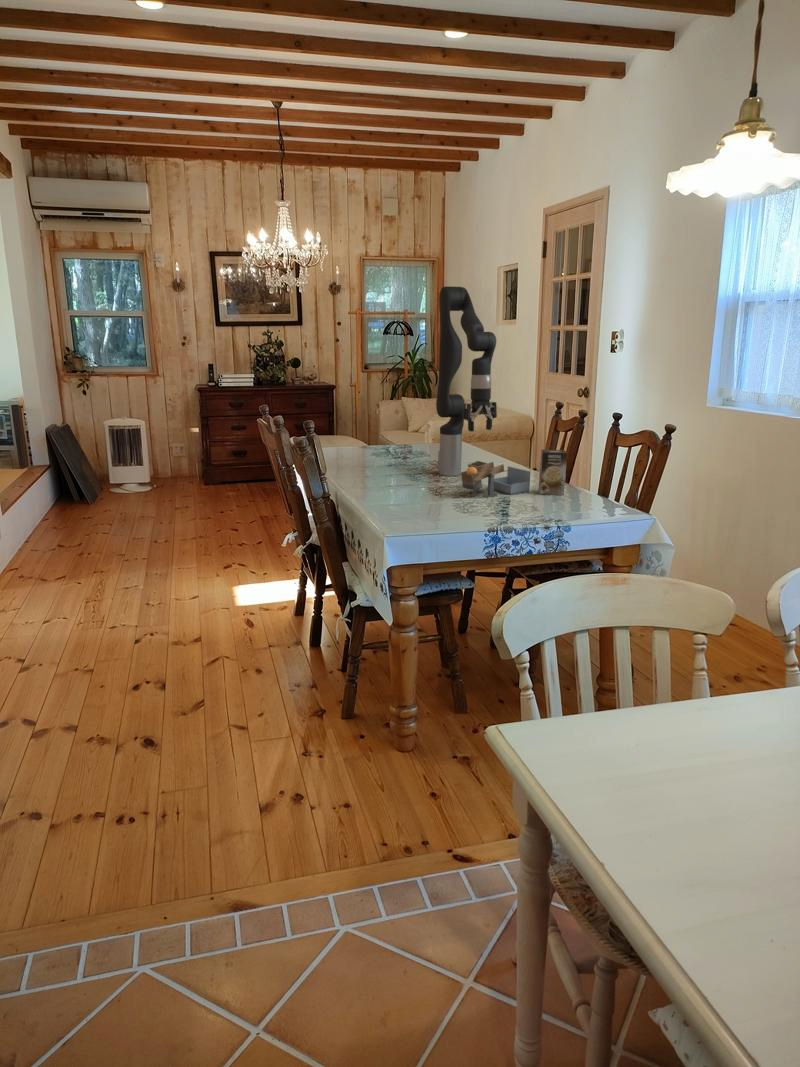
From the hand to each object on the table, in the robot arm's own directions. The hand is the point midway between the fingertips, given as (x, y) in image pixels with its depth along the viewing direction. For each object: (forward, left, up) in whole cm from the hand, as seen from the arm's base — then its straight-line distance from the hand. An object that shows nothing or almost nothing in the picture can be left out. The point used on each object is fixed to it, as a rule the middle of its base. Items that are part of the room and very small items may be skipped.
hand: (479, 430), depth 283 cm
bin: (+10, +7, -22) cm, 25 cm away
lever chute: (+6, -6, -18) cm, 20 cm away
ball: (+10, -12, -13) cm, 20 cm away
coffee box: (+22, +17, -23) cm, 36 cm away
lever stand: (+10, -6, -22) cm, 25 cm away
